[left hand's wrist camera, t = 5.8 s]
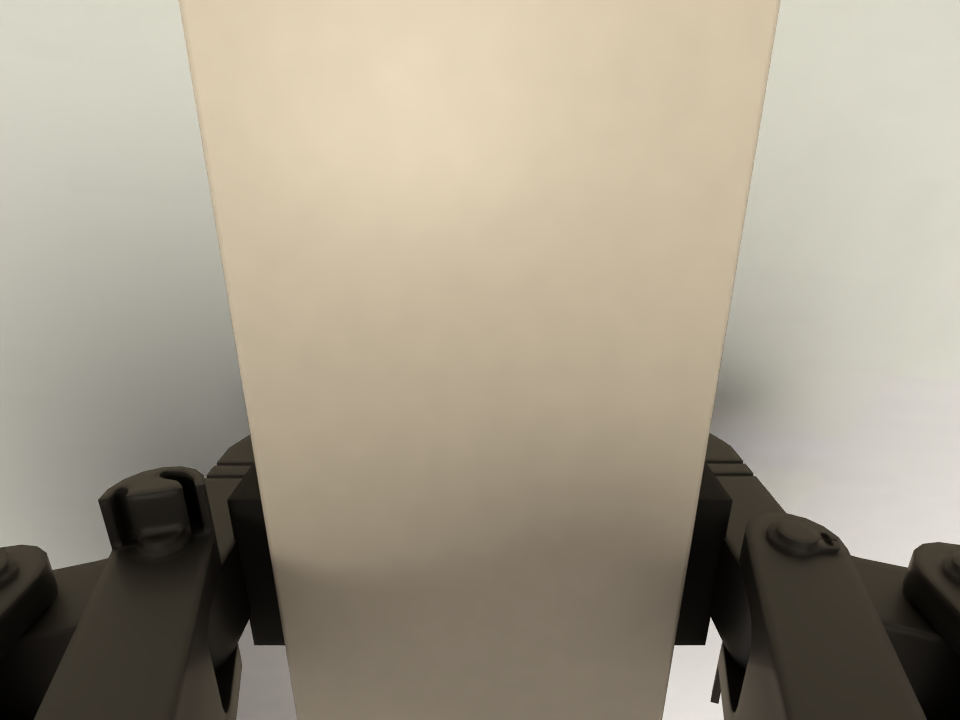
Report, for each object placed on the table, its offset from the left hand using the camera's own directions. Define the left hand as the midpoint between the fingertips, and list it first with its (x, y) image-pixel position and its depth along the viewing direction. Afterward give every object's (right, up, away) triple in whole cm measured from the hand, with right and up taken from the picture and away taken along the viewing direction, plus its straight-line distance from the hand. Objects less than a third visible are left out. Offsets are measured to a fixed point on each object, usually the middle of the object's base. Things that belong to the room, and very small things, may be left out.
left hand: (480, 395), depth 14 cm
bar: (0, +17, -6) cm, 19 cm away
